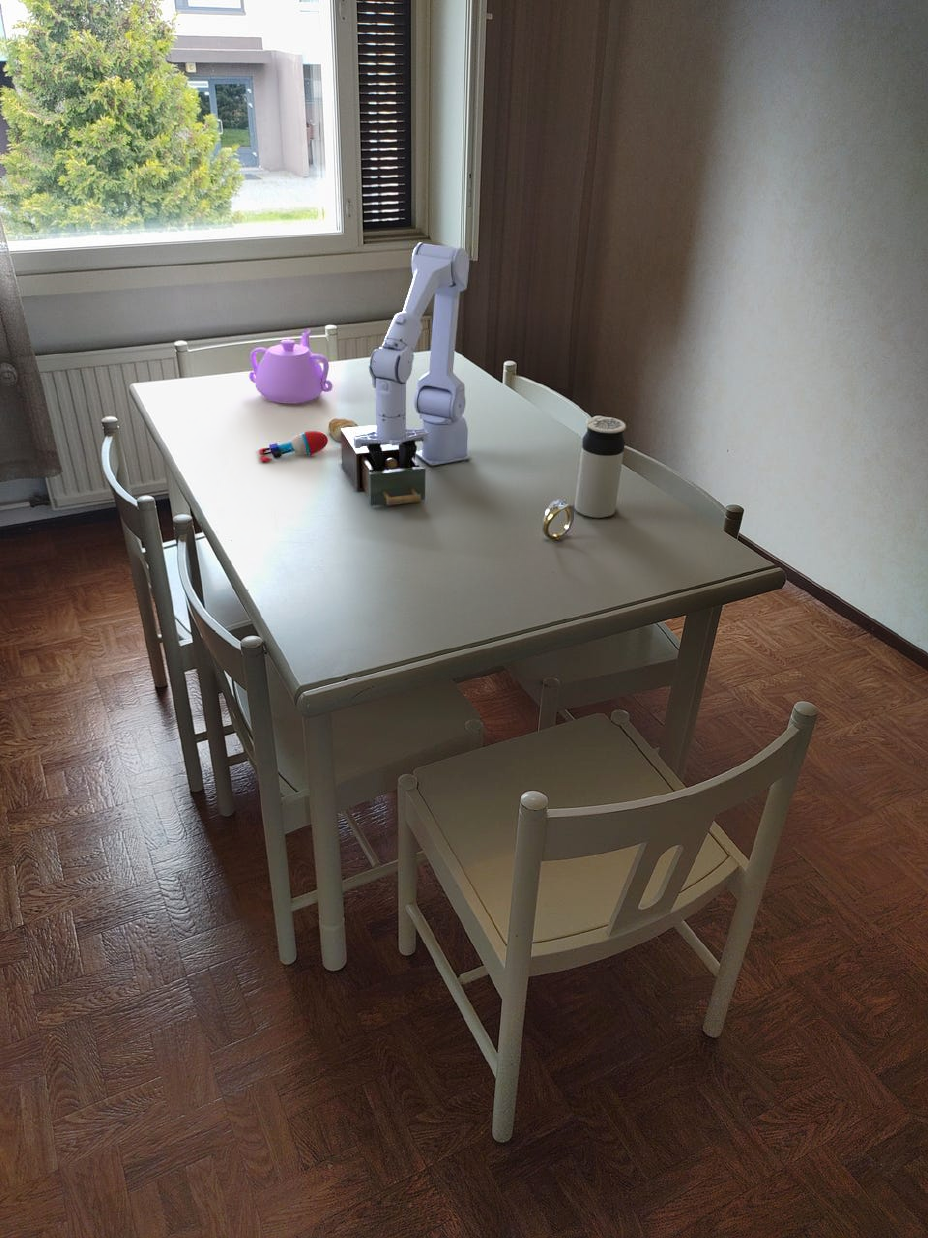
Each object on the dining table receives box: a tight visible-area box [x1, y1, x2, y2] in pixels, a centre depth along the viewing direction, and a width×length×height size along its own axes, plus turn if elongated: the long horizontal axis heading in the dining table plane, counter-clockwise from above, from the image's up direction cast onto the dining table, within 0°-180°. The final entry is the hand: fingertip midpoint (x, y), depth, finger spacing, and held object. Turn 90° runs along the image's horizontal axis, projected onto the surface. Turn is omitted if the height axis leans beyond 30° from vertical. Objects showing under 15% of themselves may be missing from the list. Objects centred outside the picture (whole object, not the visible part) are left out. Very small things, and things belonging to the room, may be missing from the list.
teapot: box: [248, 328, 334, 404], centre depth 226 cm, size 22×22×14 cm
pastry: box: [328, 418, 360, 443], centre depth 207 cm, size 9×7×4 cm
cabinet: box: [340, 424, 416, 492], centre depth 188 cm, size 14×12×8 cm
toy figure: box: [258, 430, 329, 463], centre depth 196 cm, size 8×5×15 cm
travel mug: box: [574, 416, 627, 519], centre depth 175 cm, size 8×8×18 cm
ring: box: [541, 498, 575, 541], centre depth 167 cm, size 7×3×8 cm, turn 124°
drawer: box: [359, 452, 426, 507], centre depth 179 cm, size 17×11×7 cm, turn 19°
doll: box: [383, 458, 400, 471], centre depth 179 cm, size 4×4×6 cm
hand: (391, 478), depth 180 cm, fingers closed on doll, 4 cm apart
